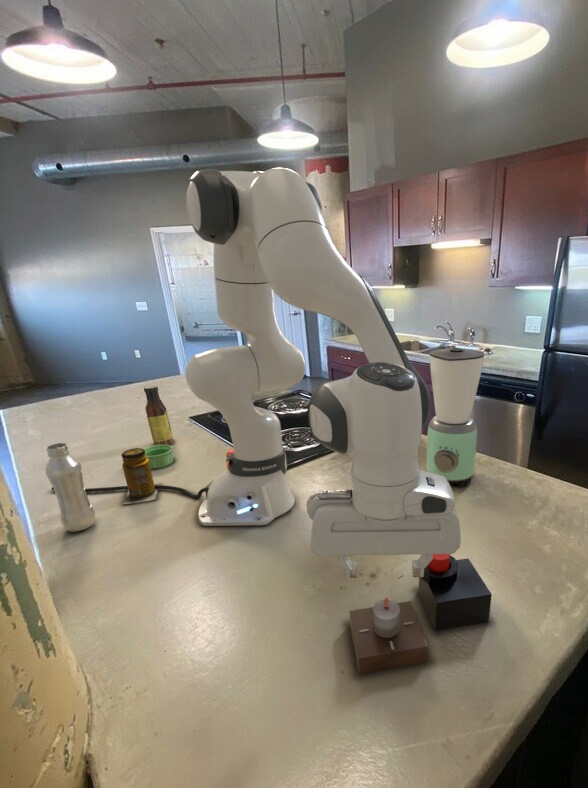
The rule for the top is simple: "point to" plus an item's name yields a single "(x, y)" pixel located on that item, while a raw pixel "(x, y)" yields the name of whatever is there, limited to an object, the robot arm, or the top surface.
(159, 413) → the sauce bottle
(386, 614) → the knob
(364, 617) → the timer panel
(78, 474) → the plastic bottle
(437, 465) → the green blender
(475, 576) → the black button base
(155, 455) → the ramekin
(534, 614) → the top surface
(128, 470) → the condiment
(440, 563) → the button
